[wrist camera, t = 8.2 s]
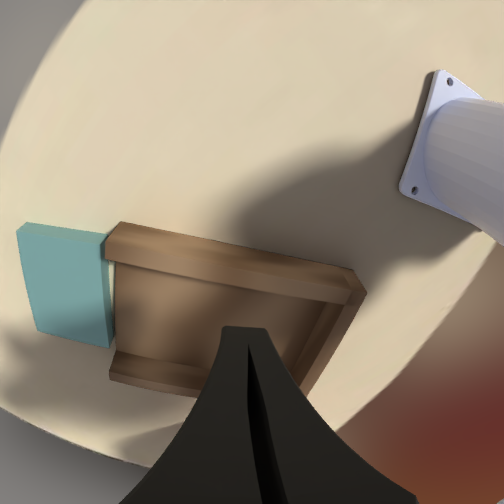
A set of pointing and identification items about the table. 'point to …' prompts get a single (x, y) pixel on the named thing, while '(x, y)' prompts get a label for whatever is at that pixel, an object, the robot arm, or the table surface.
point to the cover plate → (67, 282)
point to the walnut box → (219, 307)
